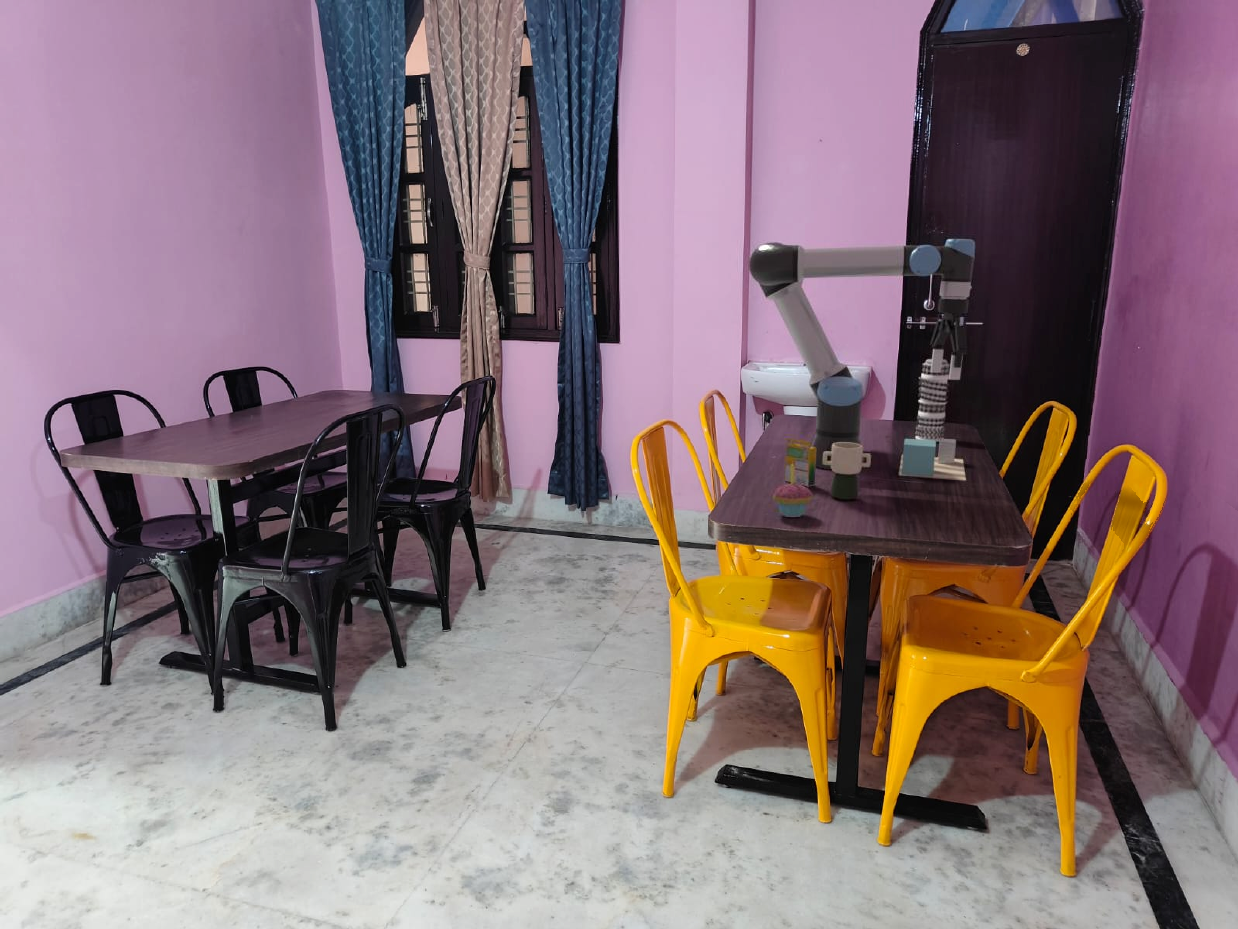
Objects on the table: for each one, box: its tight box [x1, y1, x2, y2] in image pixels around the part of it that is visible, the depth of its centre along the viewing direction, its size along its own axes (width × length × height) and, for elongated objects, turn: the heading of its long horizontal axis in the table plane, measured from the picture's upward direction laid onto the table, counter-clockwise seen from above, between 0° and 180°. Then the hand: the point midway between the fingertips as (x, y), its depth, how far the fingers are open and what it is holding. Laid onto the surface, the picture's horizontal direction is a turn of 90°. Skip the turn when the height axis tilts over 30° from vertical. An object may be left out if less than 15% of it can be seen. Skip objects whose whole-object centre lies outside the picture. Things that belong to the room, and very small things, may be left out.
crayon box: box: [784, 437, 817, 487], centre depth 212 cm, size 7×3×12 cm, turn 41°
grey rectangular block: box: [937, 438, 957, 464], centre depth 229 cm, size 4×4×6 cm
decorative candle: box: [914, 358, 951, 443], centre depth 263 cm, size 9×9×25 cm
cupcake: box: [772, 461, 813, 516], centre depth 186 cm, size 9×8×12 cm
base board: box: [898, 454, 967, 481], centre depth 224 cm, size 24×16×2 cm, turn 160°
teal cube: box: [902, 438, 937, 477], centre depth 218 cm, size 8×8×8 cm
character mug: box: [823, 442, 872, 500], centre depth 199 cm, size 11×7×13 cm, turn 77°
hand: (944, 375), depth 234 cm, fingers open, 13 cm apart
